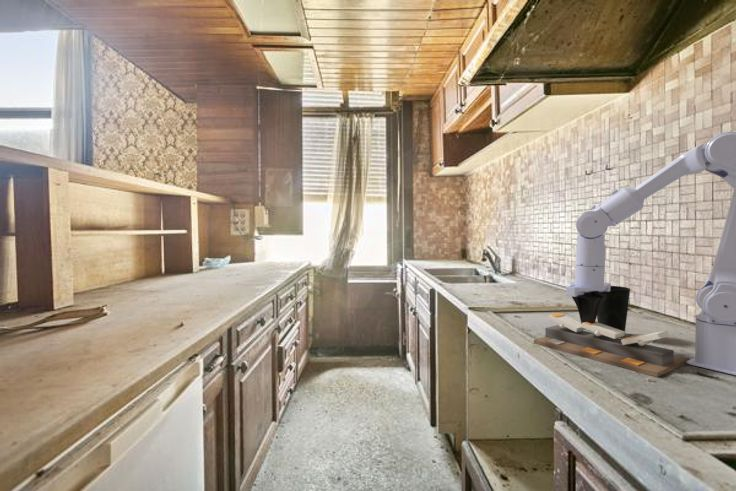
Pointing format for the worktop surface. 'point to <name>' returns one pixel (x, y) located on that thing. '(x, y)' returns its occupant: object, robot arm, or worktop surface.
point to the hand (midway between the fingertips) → (587, 325)
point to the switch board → (615, 358)
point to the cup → (614, 307)
